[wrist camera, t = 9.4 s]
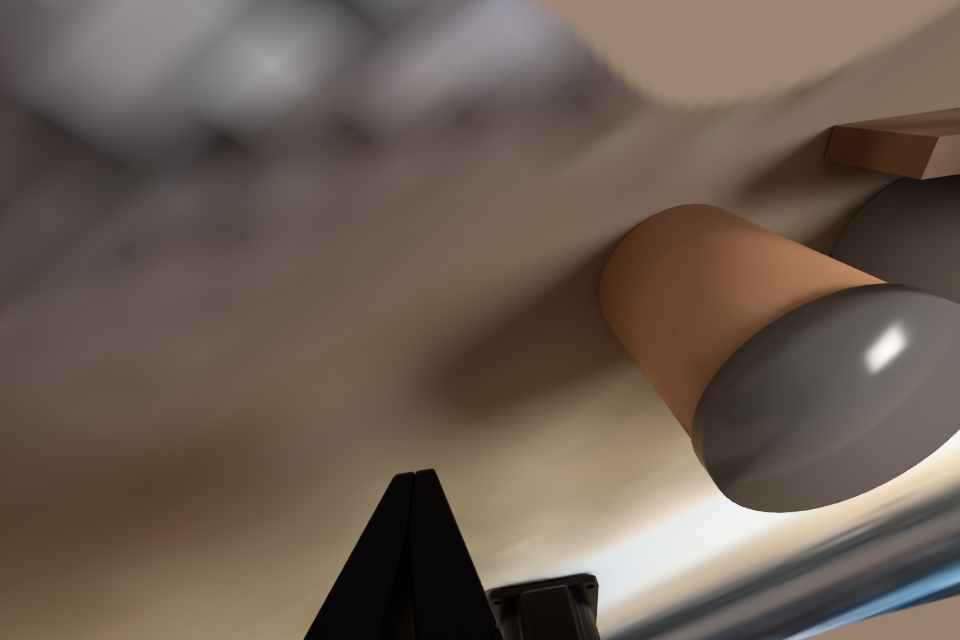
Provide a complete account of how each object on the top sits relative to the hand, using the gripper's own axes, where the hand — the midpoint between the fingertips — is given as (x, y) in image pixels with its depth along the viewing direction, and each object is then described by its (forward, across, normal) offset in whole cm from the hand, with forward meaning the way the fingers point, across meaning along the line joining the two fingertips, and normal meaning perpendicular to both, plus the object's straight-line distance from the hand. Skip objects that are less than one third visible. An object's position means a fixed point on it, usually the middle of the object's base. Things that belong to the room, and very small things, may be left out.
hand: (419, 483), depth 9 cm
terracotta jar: (+7, -9, 0) cm, 11 cm away
